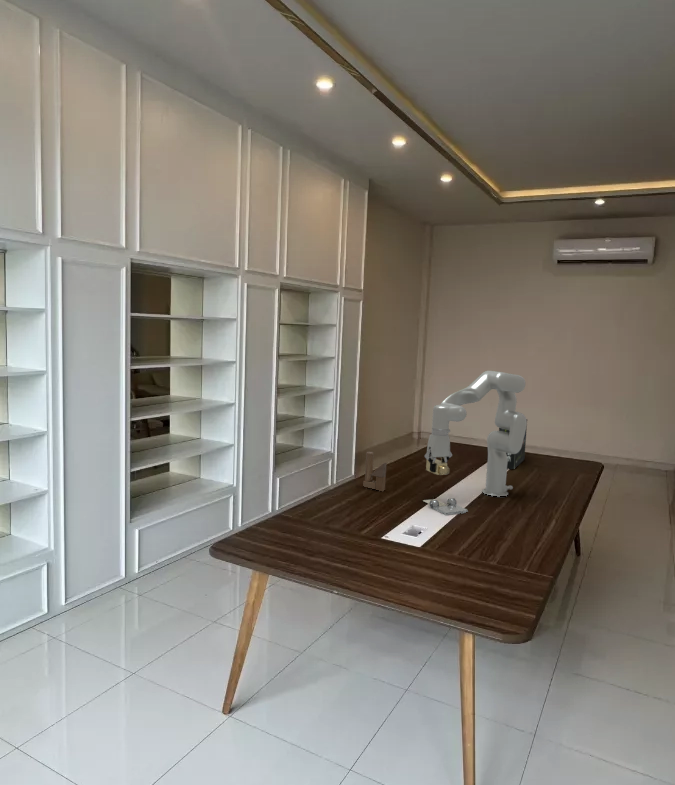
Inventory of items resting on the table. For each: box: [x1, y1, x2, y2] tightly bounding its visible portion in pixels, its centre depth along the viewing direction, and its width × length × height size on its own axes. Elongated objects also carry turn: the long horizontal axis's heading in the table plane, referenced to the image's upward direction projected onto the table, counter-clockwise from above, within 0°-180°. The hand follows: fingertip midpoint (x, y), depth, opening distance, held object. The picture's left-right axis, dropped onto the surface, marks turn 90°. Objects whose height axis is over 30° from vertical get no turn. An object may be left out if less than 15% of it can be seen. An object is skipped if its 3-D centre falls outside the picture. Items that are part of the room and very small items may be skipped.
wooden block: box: [362, 451, 388, 492], centre depth 284 cm, size 4×11×18 cm, turn 56°
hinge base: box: [428, 497, 469, 516], centre depth 256 cm, size 14×12×4 cm
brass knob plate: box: [425, 458, 450, 476], centre depth 263 cm, size 5×12×5 cm, turn 26°
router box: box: [498, 418, 528, 470], centre depth 355 cm, size 36×11×27 cm, turn 152°
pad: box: [422, 498, 448, 507], centre depth 266 cm, size 7×10×1 cm
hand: (437, 471), depth 264 cm, fingers closed on brass knob plate, 5 cm apart
